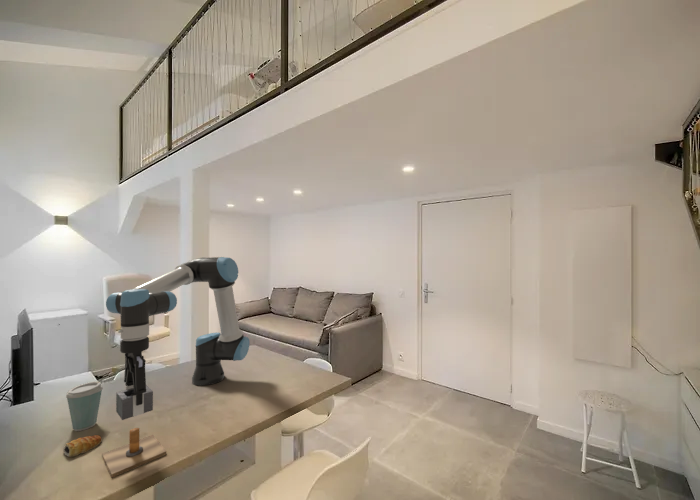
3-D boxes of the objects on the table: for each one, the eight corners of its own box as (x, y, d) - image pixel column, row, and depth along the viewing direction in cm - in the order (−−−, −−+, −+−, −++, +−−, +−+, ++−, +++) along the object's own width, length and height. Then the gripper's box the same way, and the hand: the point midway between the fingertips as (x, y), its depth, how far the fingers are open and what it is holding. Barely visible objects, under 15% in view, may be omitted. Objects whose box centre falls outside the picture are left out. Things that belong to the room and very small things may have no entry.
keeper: (102, 457, 97) (102, 431, 97) (153, 437, 107) (153, 414, 108) (111, 477, 88) (111, 449, 88) (166, 454, 98) (166, 428, 98)
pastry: (96, 438, 108) (96, 427, 108) (105, 444, 104) (105, 433, 104) (61, 453, 99) (61, 441, 100) (69, 460, 96) (70, 448, 96)
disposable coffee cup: (71, 437, 108) (71, 394, 108) (60, 429, 114) (61, 388, 114) (107, 423, 117) (107, 383, 117) (95, 416, 123) (96, 378, 123)
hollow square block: (116, 411, 98) (116, 392, 98) (145, 402, 104) (145, 384, 104) (122, 420, 92) (122, 399, 92) (152, 410, 98) (152, 391, 98)
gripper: (113, 335, 103) (112, 404, 102) (129, 346, 89) (128, 426, 88) (139, 331, 108) (139, 396, 108) (158, 341, 94) (158, 416, 94)
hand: (134, 410), depth 98 cm, fingers closed on hollow square block, 8 cm apart
